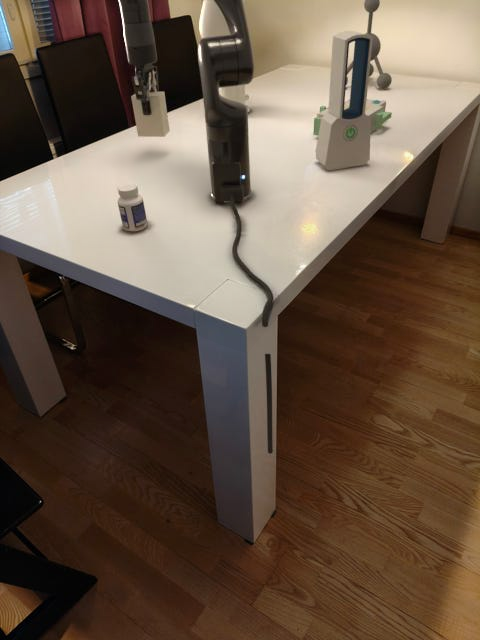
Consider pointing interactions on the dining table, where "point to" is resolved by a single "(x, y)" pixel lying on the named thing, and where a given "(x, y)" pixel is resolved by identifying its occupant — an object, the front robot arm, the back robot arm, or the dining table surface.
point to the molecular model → (374, 48)
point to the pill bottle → (131, 208)
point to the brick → (151, 116)
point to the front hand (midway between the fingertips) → (150, 111)
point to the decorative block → (373, 111)
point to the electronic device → (352, 123)
